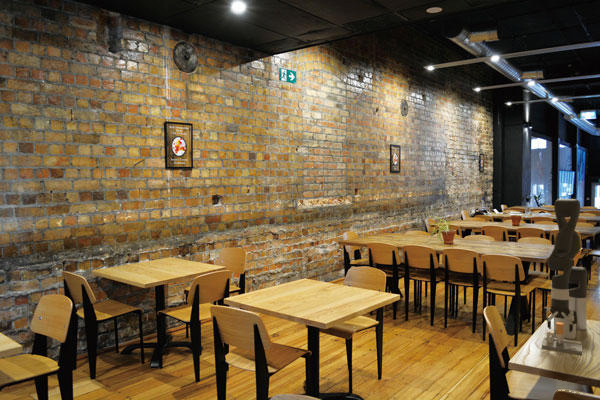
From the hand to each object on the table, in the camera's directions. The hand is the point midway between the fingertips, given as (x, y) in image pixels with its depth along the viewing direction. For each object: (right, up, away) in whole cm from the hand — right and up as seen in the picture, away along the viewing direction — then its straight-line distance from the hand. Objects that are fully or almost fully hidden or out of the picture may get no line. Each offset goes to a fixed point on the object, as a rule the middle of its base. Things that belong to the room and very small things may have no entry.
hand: (559, 330), depth 215 cm
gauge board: (0, -8, -1) cm, 8 cm away
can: (+11, -7, +12) cm, 18 cm away
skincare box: (+13, -7, +21) cm, 26 cm away
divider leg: (-1, -6, -1) cm, 6 cm away
